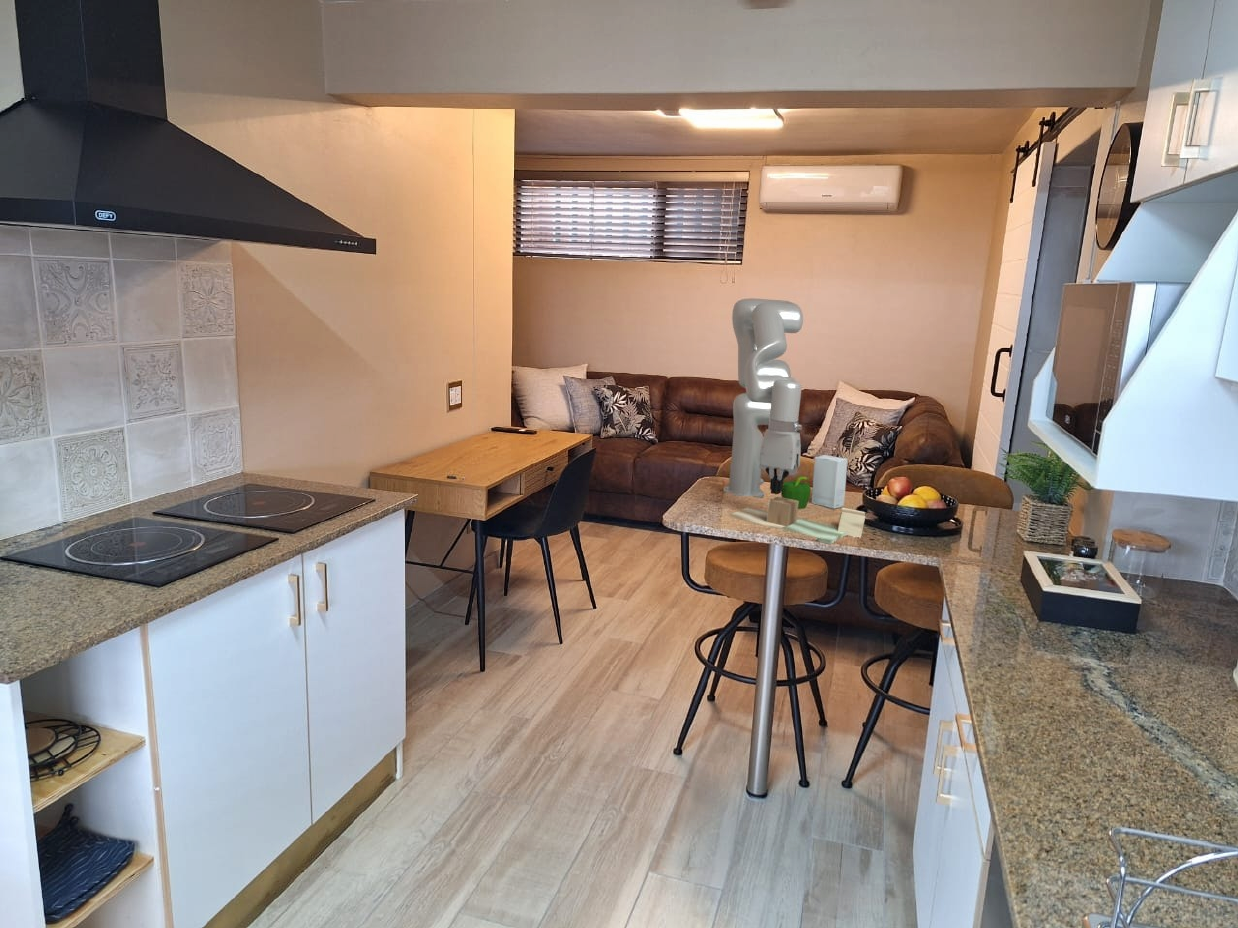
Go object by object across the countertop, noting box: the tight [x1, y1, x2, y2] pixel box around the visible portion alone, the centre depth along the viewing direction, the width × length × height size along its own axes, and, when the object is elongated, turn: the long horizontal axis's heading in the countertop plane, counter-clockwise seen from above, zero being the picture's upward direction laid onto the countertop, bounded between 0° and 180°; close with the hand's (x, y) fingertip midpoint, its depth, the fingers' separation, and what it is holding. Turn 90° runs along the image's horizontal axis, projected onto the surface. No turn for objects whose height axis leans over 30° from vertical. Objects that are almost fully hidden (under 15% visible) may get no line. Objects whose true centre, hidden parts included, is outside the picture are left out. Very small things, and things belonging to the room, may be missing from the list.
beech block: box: [837, 507, 866, 539], centre depth 217 cm, size 6×6×6 cm
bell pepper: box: [780, 476, 812, 510], centre depth 238 cm, size 8×8×10 cm
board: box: [726, 506, 846, 545], centre depth 221 cm, size 14×30×1 cm, turn 55°
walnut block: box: [767, 496, 799, 526], centre depth 221 cm, size 6×6×6 cm
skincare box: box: [811, 454, 848, 509], centre depth 245 cm, size 8×6×15 cm
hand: (775, 493), depth 221 cm, fingers closed
